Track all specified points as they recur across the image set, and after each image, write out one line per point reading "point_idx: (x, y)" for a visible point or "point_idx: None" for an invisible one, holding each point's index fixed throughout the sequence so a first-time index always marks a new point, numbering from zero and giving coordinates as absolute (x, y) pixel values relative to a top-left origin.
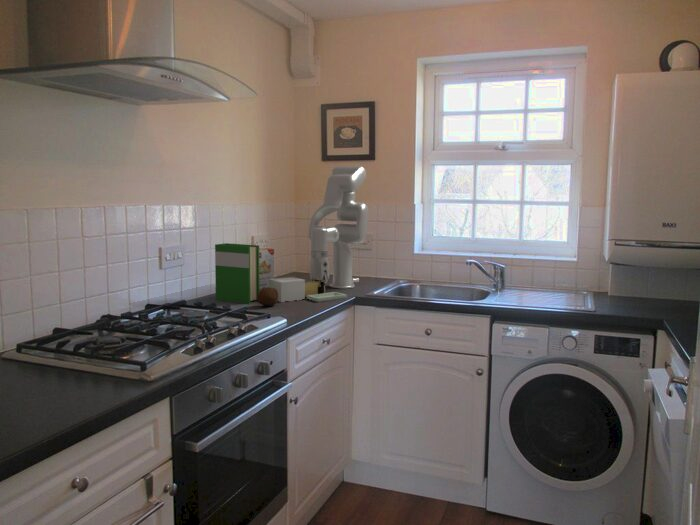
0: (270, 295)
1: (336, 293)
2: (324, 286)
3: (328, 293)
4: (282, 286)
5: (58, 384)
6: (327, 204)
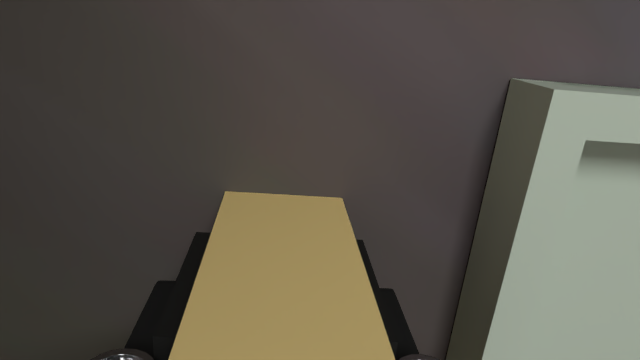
0: None
1: (613, 139)
2: (368, 307)
3: (537, 291)
4: None
5: None
6: None
